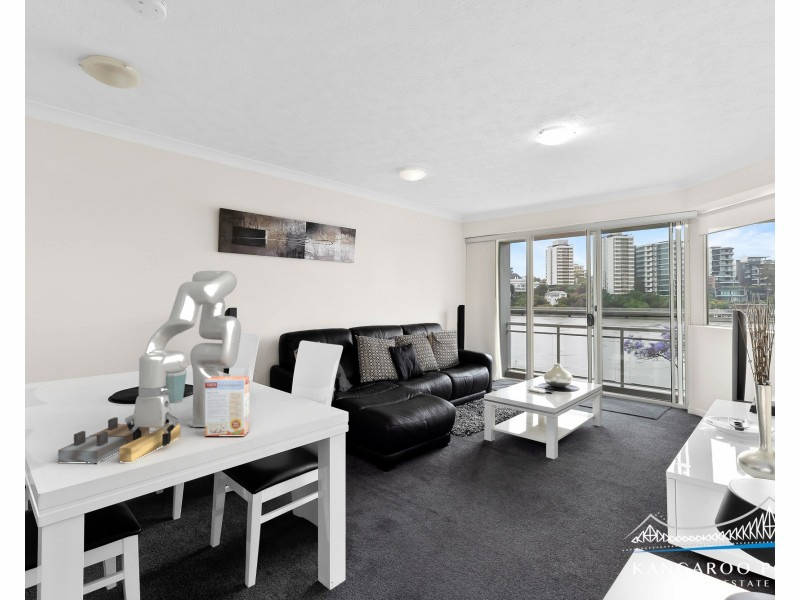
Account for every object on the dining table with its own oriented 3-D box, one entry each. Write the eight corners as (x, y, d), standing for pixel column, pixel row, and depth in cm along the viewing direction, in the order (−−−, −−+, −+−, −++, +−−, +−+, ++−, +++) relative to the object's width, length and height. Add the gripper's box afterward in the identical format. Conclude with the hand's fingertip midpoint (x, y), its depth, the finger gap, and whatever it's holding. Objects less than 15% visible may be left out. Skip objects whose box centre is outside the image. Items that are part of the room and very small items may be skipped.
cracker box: (249, 431, 150) (250, 375, 150) (244, 437, 144) (244, 379, 144) (211, 431, 150) (211, 375, 149) (204, 437, 144) (204, 379, 143)
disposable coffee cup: (178, 404, 185) (179, 371, 185) (155, 403, 185) (155, 371, 185) (191, 398, 196) (191, 367, 195) (169, 397, 196) (169, 367, 195)
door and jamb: (149, 435, 145) (149, 414, 145) (97, 464, 121) (97, 439, 121) (116, 434, 145) (116, 414, 145) (58, 463, 121) (58, 438, 121)
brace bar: (180, 438, 143) (180, 424, 143) (131, 464, 121) (131, 448, 121) (169, 438, 144) (169, 424, 144) (119, 463, 122) (119, 447, 122)
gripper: (184, 389, 136) (184, 440, 136) (134, 388, 136) (133, 439, 136) (171, 395, 128) (170, 449, 128) (118, 393, 129) (117, 447, 129)
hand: (151, 444), depth 132 cm, fingers open, 9 cm apart
